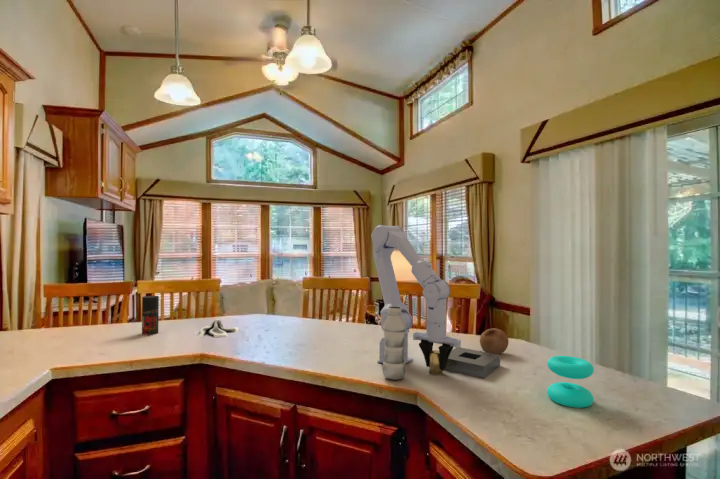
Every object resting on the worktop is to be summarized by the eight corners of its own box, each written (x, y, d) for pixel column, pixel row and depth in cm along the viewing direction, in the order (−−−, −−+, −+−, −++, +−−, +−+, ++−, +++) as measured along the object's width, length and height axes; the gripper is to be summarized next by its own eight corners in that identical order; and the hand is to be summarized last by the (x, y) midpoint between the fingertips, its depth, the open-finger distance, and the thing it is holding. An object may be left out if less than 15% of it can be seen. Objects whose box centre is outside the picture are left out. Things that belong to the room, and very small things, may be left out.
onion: (492, 365, 131) (486, 341, 128) (477, 350, 140) (472, 327, 137) (516, 354, 133) (511, 330, 129) (500, 340, 142) (495, 317, 138)
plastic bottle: (390, 372, 115) (391, 304, 115) (410, 378, 110) (410, 307, 110) (377, 378, 110) (378, 307, 110) (397, 384, 105) (398, 310, 105)
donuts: (561, 366, 90) (539, 354, 100) (560, 410, 90) (539, 393, 100) (603, 366, 91) (577, 354, 101) (603, 409, 91) (577, 392, 101)
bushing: (439, 375, 112) (439, 355, 112) (426, 372, 115) (426, 352, 115) (445, 372, 116) (445, 351, 116) (432, 369, 118) (433, 349, 118)
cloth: (209, 327, 174) (210, 313, 174) (247, 329, 170) (247, 315, 170) (176, 339, 153) (176, 323, 153) (218, 342, 149) (218, 326, 149)
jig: (484, 378, 111) (484, 366, 111) (438, 368, 119) (439, 356, 119) (500, 366, 122) (500, 354, 122) (457, 357, 130) (457, 347, 130)
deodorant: (138, 334, 158) (138, 297, 158) (150, 331, 163) (150, 295, 163) (150, 335, 156) (150, 298, 156) (161, 332, 162) (162, 296, 162)
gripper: (465, 322, 114) (464, 369, 114) (421, 316, 123) (420, 359, 123) (455, 326, 108) (454, 375, 108) (409, 320, 117) (409, 365, 117)
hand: (435, 367), depth 115 cm, fingers closed on bushing, 4 cm apart
